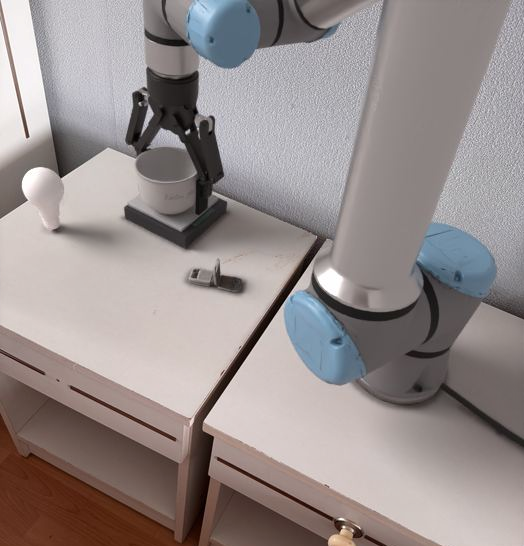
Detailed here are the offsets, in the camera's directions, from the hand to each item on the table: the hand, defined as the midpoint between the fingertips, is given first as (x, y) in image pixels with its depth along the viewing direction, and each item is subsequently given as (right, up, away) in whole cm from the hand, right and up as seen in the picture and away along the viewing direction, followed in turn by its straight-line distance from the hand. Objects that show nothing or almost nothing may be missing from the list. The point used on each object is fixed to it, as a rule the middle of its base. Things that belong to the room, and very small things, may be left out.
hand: (174, 198), depth 90 cm
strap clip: (+8, -16, -6) cm, 19 cm away
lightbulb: (-20, -6, -3) cm, 21 cm away
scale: (0, -2, +3) cm, 4 cm away
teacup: (0, 0, 0) cm, 0 cm away
